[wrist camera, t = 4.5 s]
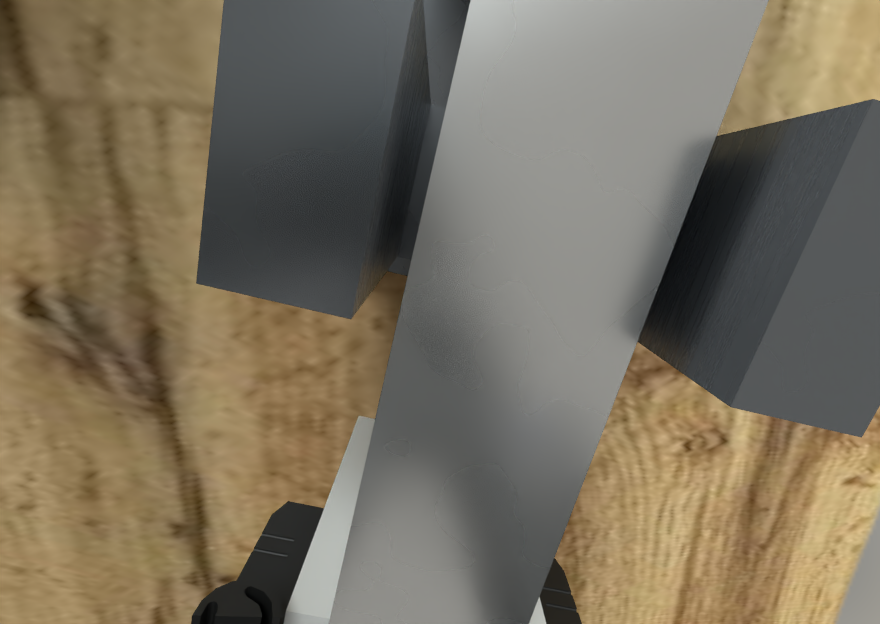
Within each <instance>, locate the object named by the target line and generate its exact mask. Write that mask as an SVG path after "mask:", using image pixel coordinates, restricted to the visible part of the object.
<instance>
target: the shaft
mask: <svg viewBox="0 0 880 624" xmlns="http://www.w3.org/2000/svg"><path fill="white" fill-rule="evenodd" d="M767 3H768V0H470V5H469V9H468V14H467V18H466V22H465V27H464V31H463V36H462V40H461V44H460V49H459V53H458V58H457V62H456V66H455V71H454V75H453V79H452V84H451V88H450V93H449V97H448V101H447V106H446V110H445V115H444V119H443V123H442V128H441V132H440V137H439V141H438V145H437V150H436V154H435V159H434V163H433V167H432V172H431V176H430V181H429V185H428V189H427V194H426V198H425V203H424V207H423V211H422V216H421V220H420V224H419V229H418V233H417V238H416V242H415V246H414V251H413V255H412V260H411V264H410V268H409V273H408V277H407V282H406V286H405V290H404V295H403V299H402V304H401V308H400V312H399V317H398V321H397V326H396V330H395V334H394V339H393V343H392V348H391V352H390V356H389V361H388V365H387V369H386V374H385V378H384V383H383V387H382V391H381V396H380V400H379V405H378V409H377V413H376V418H375V422H374V427H373V431H372V435H371V440H370V444H369V449H368V453H367V457H366V462H365V466H364V471H363V475H362V479H361V484H360V488H359V493H358V497H357V501H356V506H355V510H354V515H353V519H352V523H351V528H350V532H349V536H348V541H347V545H346V550H345V554H344V558H343V563H342V567H341V572H340V576H339V580H338V585H337V589H336V594H335V598H334V602H333V607H332V611H331V616H330V620H329V624H529V622H530V619H531V617H532V614H533V612H534V609H535V606H536V604H537V601H538V599H539V596H540V593H541V591H542V588H543V586H544V583H545V580H546V578H547V575H548V573H549V570H550V567H551V565H552V562H553V560H554V557H555V554H556V552H557V549H558V547H559V544H560V541H561V539H562V536H563V534H564V531H565V528H566V526H567V523H568V521H569V518H570V515H571V513H572V510H573V508H574V505H575V502H576V500H577V497H578V495H579V492H580V489H581V487H582V484H583V482H584V479H585V476H586V474H587V471H588V469H589V466H590V463H591V461H592V458H593V456H594V453H595V450H596V448H597V445H598V443H599V440H600V437H601V435H602V432H603V430H604V427H605V424H606V422H607V419H608V417H609V414H610V411H611V409H612V406H613V404H614V401H615V398H616V396H617V393H618V391H619V388H620V385H621V383H622V380H623V378H624V375H625V372H626V370H627V367H628V365H629V362H630V359H631V357H632V354H633V352H634V349H635V346H636V344H637V341H638V339H639V336H640V333H641V331H642V328H643V326H644V323H645V320H646V318H647V315H648V313H649V310H650V307H651V305H652V302H653V300H654V297H655V294H656V292H657V289H658V287H659V284H660V281H661V279H662V276H663V274H664V271H665V268H666V266H667V263H668V261H669V258H670V255H671V253H672V250H673V248H674V245H675V242H676V240H677V237H678V235H679V232H680V229H681V227H682V224H683V222H684V219H685V216H686V214H687V211H688V208H689V206H690V203H691V201H692V198H693V195H694V193H695V190H696V188H697V185H698V182H699V180H700V177H701V175H702V172H703V169H704V167H705V164H706V162H707V159H708V156H709V154H710V151H711V149H712V146H713V143H714V141H715V138H716V136H717V133H718V130H719V128H720V125H721V123H722V120H723V117H724V115H725V112H726V110H727V107H728V104H729V102H730V99H731V97H732V94H733V91H734V89H735V86H736V84H737V81H738V78H739V76H740V73H741V71H742V68H743V65H744V63H745V60H746V58H747V55H748V52H749V50H750V47H751V45H752V42H753V39H754V37H755V34H756V32H757V29H758V26H759V24H760V21H761V19H762V16H763V13H764V11H765V8H766V6H767Z"/></svg>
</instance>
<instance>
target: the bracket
mask: <svg viewBox="0 0 880 624" xmlns="http://www.w3.org/2000/svg"><path fill="white" fill-rule="evenodd" d="M469 5H470V0H224V5H223V15H222V26H221V36H220V46H219V56H218V67H217V77H216V87H215V97H214V108H213V118H212V128H211V138H210V148H209V159H208V169H207V179H206V189H205V200H204V210H203V220H202V230H201V240H200V251H199V261H198V271H197V281H196V283H197V284H201V285H205V286H210V287H214V288H218V289H223V290H227V291H231V292H236V293H240V294H244V295H249V296H253V297H257V298H262V299H266V300H270V301H275V302H279V303H283V304H288V305H292V306H296V307H301V308H305V309H309V310H313V311H318V312H322V313H326V314H331V315H335V316H339V317H344V318H348V319H352V317H353V316H354V315H355V313H356V312H357V311H358V309H359V308H360V307H361V305H362V304H363V303H364V301H365V300H366V299H367V297H368V296H369V295H370V293H371V292H372V291H373V289H374V288H375V287H376V285H377V284H378V283H379V281H380V280H381V279H382V277H383V276H384V275H385V273H386V272H387V271H389V272H393V273H397V274H401V275H406V276H408V273H409V268H410V264H411V260H412V255H413V251H414V246H415V242H416V238H417V233H418V229H419V224H420V220H421V216H422V211H423V207H424V203H425V198H426V194H427V189H428V185H429V181H430V176H431V172H432V167H433V163H434V159H435V154H436V150H437V145H438V141H439V137H440V132H441V128H442V123H443V119H444V115H445V110H446V106H447V101H448V97H449V93H450V88H451V84H452V79H453V75H454V71H455V66H456V62H457V58H458V53H459V49H460V44H461V40H462V36H463V31H464V27H465V22H466V18H467V14H468V9H469ZM637 342H639V343H640V344H642V345H643V346H644V347H646V348H647V349H649V350H650V351H652V352H653V353H654V354H656V355H657V356H659V357H660V358H661V359H663V360H664V361H666V362H667V363H669V364H670V365H671V366H673V367H674V368H676V369H677V370H679V371H680V372H681V373H683V374H684V375H686V376H687V377H689V378H690V379H691V380H693V381H694V382H696V383H697V384H699V385H700V386H701V387H703V388H704V389H706V390H707V391H709V392H710V393H711V394H713V395H714V396H716V397H717V398H718V399H720V400H721V401H723V402H724V403H726V404H727V405H728V406H730V407H733V408H737V409H741V410H746V411H750V412H754V413H759V414H763V415H767V416H772V417H776V418H780V419H784V420H789V421H793V422H797V423H802V424H806V425H810V426H815V427H819V428H823V429H828V430H832V431H836V432H841V433H845V434H849V435H854V436H858V437H862V436H863V434H864V432H865V431H866V429H867V427H868V425H869V424H870V422H871V420H872V418H873V416H874V415H875V413H876V411H877V409H878V408H879V406H880V101H878V100H875V99H872V100H868V101H864V102H859V103H855V104H851V105H847V106H842V107H838V108H834V109H830V110H826V111H821V112H817V113H813V114H809V115H804V116H800V117H796V118H792V119H787V120H783V121H779V122H775V123H771V124H766V125H762V126H758V127H754V128H749V129H745V130H741V131H737V132H732V133H728V134H724V135H720V136H716V138H715V141H714V143H713V146H712V149H711V151H710V154H709V156H708V159H707V162H706V164H705V167H704V169H703V172H702V175H701V177H700V180H699V182H698V185H697V188H696V190H695V193H694V195H693V198H692V201H691V203H690V206H689V208H688V211H687V214H686V216H685V219H684V222H683V224H682V227H681V229H680V232H679V235H678V237H677V240H676V242H675V245H674V248H673V250H672V253H671V255H670V258H669V261H668V263H667V266H666V268H665V271H664V274H663V276H662V279H661V281H660V284H659V287H658V289H657V292H656V294H655V297H654V300H653V302H652V305H651V307H650V310H649V313H648V315H647V318H646V320H645V323H644V326H643V328H642V331H641V333H640V336H639V339H638V341H637Z"/></svg>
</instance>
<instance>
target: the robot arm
mask: <svg viewBox="0 0 880 624" xmlns="http://www.w3.org/2000/svg"><path fill="white" fill-rule="evenodd" d="M374 422H375V419H372V418H368V417H363V416H358V419H357V422H356V424H355V427H354V430H353V432H352V435H351V438H350V440H349V443H348V446H347V449H346V451H345V454H344V457H343V459H342V462H341V465H340V467H339V470H338V473H337V475H336V478H335V481H334V483H333V486H332V489H331V491H330V494H329V497H328V499H327V502H326V505H325V508H319V507H314V506H309V505H304V504H299V503H294V502H289V501H288V502H287V503H286V504H284V505H283V506H282V507H281V508H279V509H278V510H277V511H276V512H275V513H273V514H272V516H271V517H270V519H269V521H268V523H267V525H266V527H265V529H264V531H263V532H262V535H261V536H260V538H259V540H258V542H257V544H256V546H255V547H254V551H253V552H252V553H251V555H250V557H249V559H248V561H247V562H246V564H245V566H244V568H243V570H242V572H241V574H240V576H239V577H238V579H237V581H232V582H230V583H228V584H225V585H223V586H221V587H218V588H216V589H215V590H214V591H213V592H211V593H210V594H209V595H208V596H207V597H205V598H204V599H203V600H202V601H201V603H200V604H199V606H198V607H197V609H196V610H195V612H194V614H193V615H192V622H191V624H329V620H330V616H331V611H332V607H333V602H334V598H335V594H336V589H337V585H338V580H339V576H340V572H341V567H342V563H343V558H344V554H345V550H346V545H347V541H348V536H349V532H350V528H351V523H352V519H353V515H354V510H355V506H356V501H357V497H358V493H359V488H360V484H361V479H362V475H363V471H364V466H365V462H366V457H367V453H368V449H369V444H370V440H371V435H372V431H373V427H374ZM576 609H577V608H576V605H575V602H574V599H573V596H572V595H571V590H570V587H569V584H568V581H567V579H566V576H565V573H564V571H563V569H562V568H561V566H560V565H559V564H558V562H557V561H556V559H555V558H554V560H553V562H552V565H551V567H550V570H549V573H548V575H547V578H546V580H545V583H544V586H543V588H542V591H541V593H540V596H539V599H538V601H537V604H536V606H535V609H534V612H533V614H532V617H531V619H530V622H529V624H582V623H581V620H580V617H579V614H578V613H577V612H576Z"/></svg>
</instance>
